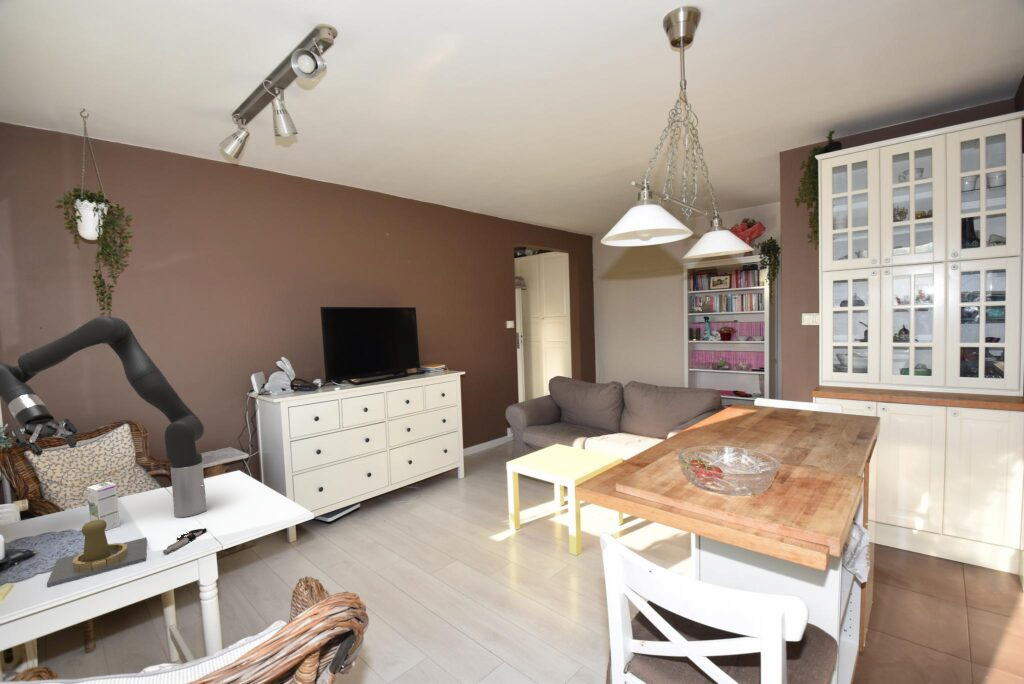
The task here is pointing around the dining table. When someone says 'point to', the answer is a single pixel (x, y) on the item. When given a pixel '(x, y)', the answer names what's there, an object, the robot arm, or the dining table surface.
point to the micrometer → (184, 540)
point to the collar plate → (98, 562)
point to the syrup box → (104, 504)
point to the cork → (95, 541)
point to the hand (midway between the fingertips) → (57, 450)
